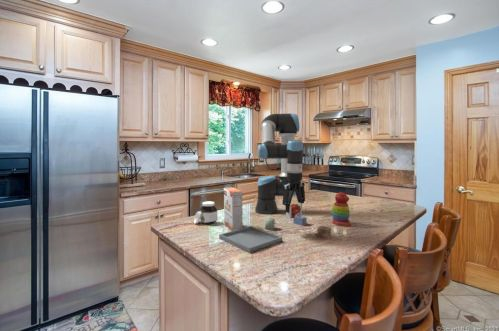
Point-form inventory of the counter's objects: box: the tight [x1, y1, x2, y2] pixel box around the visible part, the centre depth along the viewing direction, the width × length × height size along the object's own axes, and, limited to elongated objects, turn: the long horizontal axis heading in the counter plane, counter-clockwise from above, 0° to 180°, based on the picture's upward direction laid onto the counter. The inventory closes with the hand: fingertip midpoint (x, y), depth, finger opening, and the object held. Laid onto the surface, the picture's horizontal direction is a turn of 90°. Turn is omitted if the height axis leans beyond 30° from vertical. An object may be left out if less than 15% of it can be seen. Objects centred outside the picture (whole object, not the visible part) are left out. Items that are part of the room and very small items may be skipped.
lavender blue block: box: [292, 214, 307, 226], centre depth 148 cm, size 6×4×4 cm, turn 44°
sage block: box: [264, 217, 276, 231], centre depth 140 cm, size 5×5×5 cm
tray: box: [218, 225, 283, 254], centre depth 123 cm, size 22×20×2 cm
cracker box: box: [223, 186, 244, 231], centre depth 140 cm, size 14×6×21 cm, turn 23°
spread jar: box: [193, 200, 218, 225], centre depth 149 cm, size 12×11×12 cm
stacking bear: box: [331, 191, 353, 228], centre depth 148 cm, size 11×10×18 cm
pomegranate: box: [290, 203, 301, 219], centre depth 132 cm, size 7×7×10 cm
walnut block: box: [316, 225, 332, 240], centre depth 127 cm, size 5×5×4 cm
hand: (293, 216), depth 132 cm, fingers closed on pomegranate, 7 cm apart
